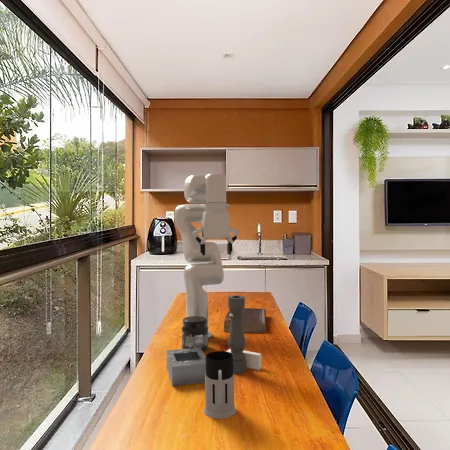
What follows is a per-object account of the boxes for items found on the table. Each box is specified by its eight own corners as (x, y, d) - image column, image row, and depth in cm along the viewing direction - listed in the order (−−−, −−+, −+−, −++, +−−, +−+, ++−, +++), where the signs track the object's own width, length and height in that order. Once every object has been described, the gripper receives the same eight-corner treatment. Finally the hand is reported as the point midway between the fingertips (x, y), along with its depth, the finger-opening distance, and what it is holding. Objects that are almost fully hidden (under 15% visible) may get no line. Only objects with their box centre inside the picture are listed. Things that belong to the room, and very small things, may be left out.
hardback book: (265, 333, 184) (265, 322, 184) (224, 333, 186) (224, 322, 186) (265, 317, 213) (265, 308, 213) (229, 317, 215) (229, 307, 215)
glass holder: (235, 402, 116) (234, 349, 115) (238, 429, 101) (238, 368, 101) (203, 403, 115) (203, 350, 115) (202, 430, 101) (202, 369, 101)
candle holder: (231, 374, 136) (230, 299, 135) (225, 368, 142) (225, 295, 141) (248, 372, 138) (248, 298, 137) (242, 365, 144) (242, 294, 143)
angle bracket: (208, 364, 146) (207, 350, 145) (253, 359, 150) (253, 346, 150) (214, 374, 136) (214, 359, 136) (262, 369, 140) (262, 354, 140)
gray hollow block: (166, 367, 143) (166, 350, 143) (200, 364, 146) (200, 347, 146) (172, 386, 127) (171, 366, 127) (210, 381, 130) (209, 363, 130)
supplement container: (191, 343, 170) (191, 314, 169) (213, 347, 164) (213, 317, 164) (176, 350, 161) (175, 320, 160) (198, 355, 155) (198, 323, 155)
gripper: (236, 207, 156) (236, 253, 156) (190, 208, 151) (191, 254, 152) (241, 207, 148) (242, 254, 149) (194, 207, 144) (194, 256, 145)
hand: (216, 254), depth 150 cm, fingers open, 9 cm apart
